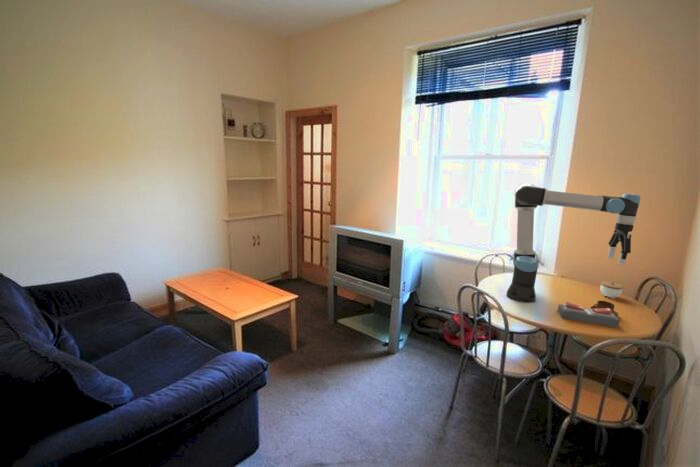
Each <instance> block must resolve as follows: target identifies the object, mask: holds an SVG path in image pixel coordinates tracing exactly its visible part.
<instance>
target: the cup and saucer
mask: <svg viewBox="0 0 700 467" xmlns="http://www.w3.org/2000/svg"><path fill="white" fill-rule="evenodd" d="M594 308H610V309H611V310H612V313H613V314H614V315H615V316H616V317H617V318H618V316H619V313H618V312H617V311H616V310H614V309H615V304H614V303H612V302H609V301H607V300H606V301H605V300H597V302H596V303H595V304H593V305H592V306H590V309H594Z"/></svg>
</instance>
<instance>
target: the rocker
mask: <svg viewBox="0 0 700 467" xmlns="http://www.w3.org/2000/svg"><path fill="white" fill-rule="evenodd" d="M565 305H568V306H569V307H572V308H575V309H577V310H581V311H583V310H584V309H583V308H584V307H583V306H581V305H577V304H575V303H573V302H570V301H566V303H565ZM582 307H583V308H582Z"/></svg>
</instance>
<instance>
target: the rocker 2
mask: <svg viewBox="0 0 700 467" xmlns="http://www.w3.org/2000/svg"><path fill="white" fill-rule="evenodd" d="M593 311H594V312H595V313H599V314H601V313H612V310H611V309H610V308H594V309H593Z"/></svg>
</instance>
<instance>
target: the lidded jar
mask: <svg viewBox="0 0 700 467" xmlns="http://www.w3.org/2000/svg"><path fill="white" fill-rule="evenodd" d="M623 289H624V285H621V284H619V283H616V282H614V281H601V283H600V293H601V294H602V296H603V295H604V297H605V296H607V297H606V298H608V297H611V298H610V299H616V298H618V297H619V296H620V295H622V292H623Z"/></svg>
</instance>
